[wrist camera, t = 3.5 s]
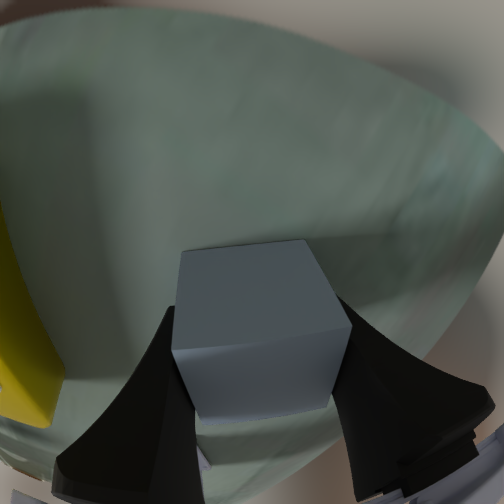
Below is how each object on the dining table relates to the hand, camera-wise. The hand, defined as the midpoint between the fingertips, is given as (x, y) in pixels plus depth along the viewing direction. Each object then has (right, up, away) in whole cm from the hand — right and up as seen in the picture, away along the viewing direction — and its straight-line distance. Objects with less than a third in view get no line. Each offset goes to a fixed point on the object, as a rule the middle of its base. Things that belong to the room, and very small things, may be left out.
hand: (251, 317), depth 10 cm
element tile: (-18, +1, -1) cm, 18 cm away
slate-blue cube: (0, +1, +1) cm, 1 cm away
